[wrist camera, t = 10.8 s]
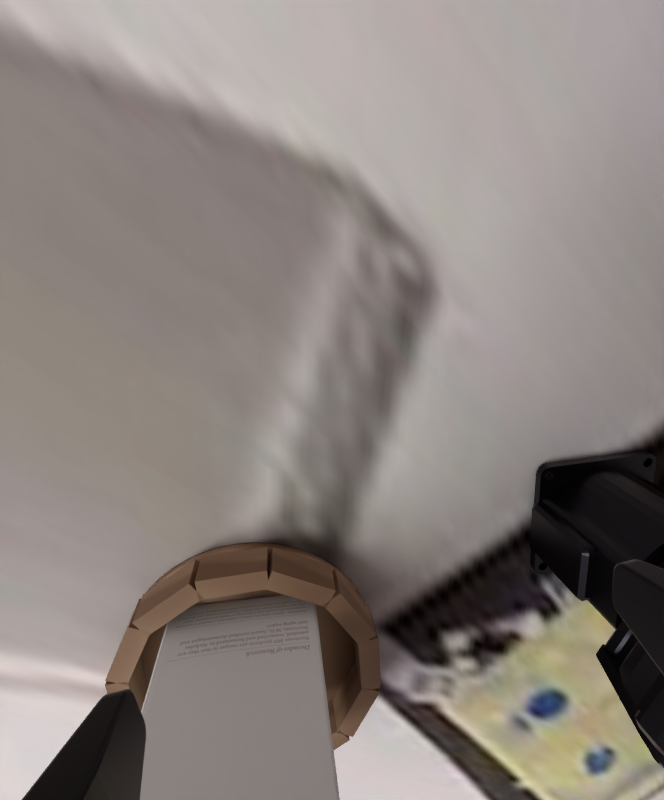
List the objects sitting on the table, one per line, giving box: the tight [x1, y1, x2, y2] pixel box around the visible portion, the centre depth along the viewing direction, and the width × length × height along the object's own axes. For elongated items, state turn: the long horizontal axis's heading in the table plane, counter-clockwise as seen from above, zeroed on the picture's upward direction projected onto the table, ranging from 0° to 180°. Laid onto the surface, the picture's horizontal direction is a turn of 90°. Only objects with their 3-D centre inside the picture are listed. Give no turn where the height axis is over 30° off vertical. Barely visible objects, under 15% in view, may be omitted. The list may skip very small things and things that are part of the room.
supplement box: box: [140, 595, 340, 800], centre depth 17 cm, size 7×7×13 cm
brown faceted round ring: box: [105, 543, 381, 750], centre depth 23 cm, size 13×13×2 cm
